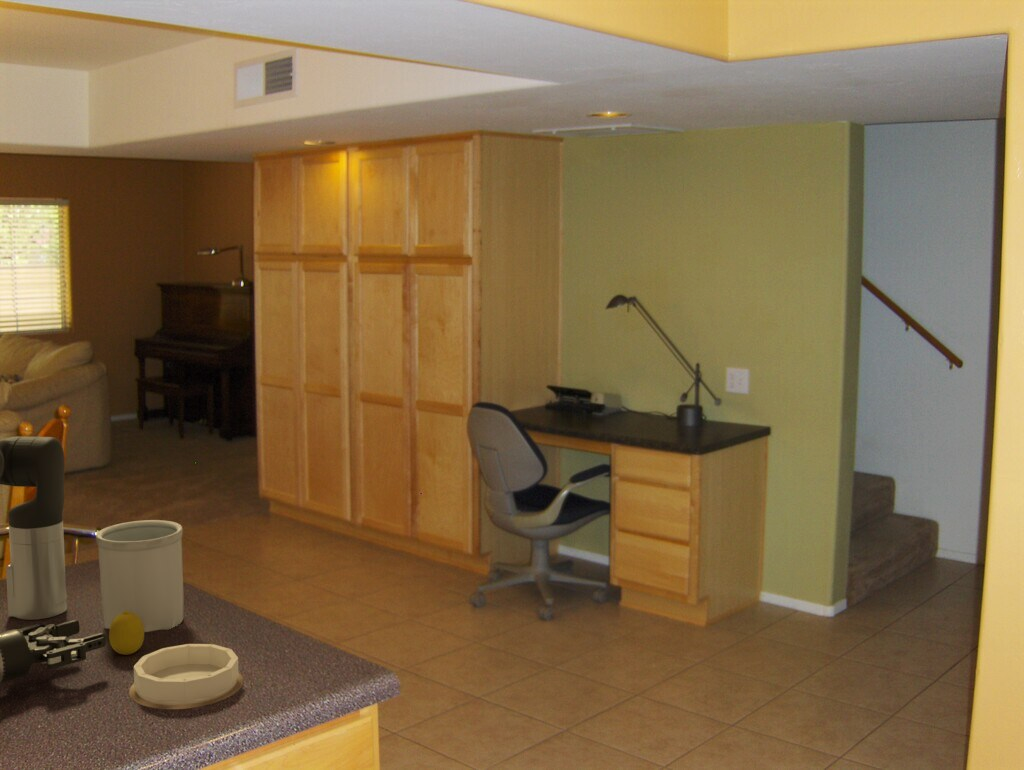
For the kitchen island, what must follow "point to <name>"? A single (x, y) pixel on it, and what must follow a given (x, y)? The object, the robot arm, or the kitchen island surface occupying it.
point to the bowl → (186, 674)
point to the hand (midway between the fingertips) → (91, 632)
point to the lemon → (126, 633)
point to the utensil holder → (142, 572)
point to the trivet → (134, 697)
